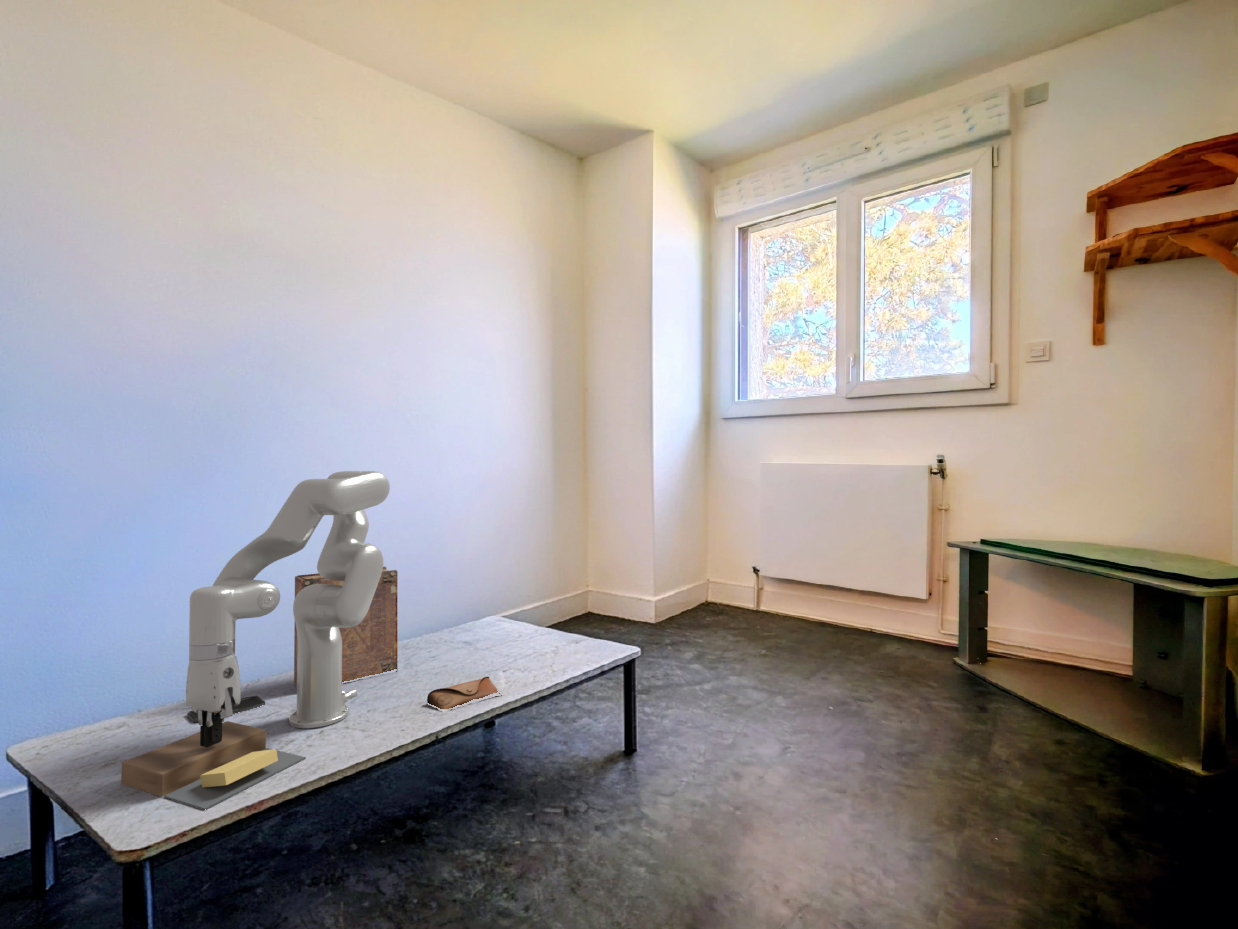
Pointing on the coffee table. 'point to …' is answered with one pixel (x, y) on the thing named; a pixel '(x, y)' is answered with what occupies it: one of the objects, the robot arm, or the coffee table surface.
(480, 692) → the sunglasses case
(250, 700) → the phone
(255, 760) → the tile
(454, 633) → the coffee table surface
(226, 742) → the brown wooden block
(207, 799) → the mat
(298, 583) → the book
